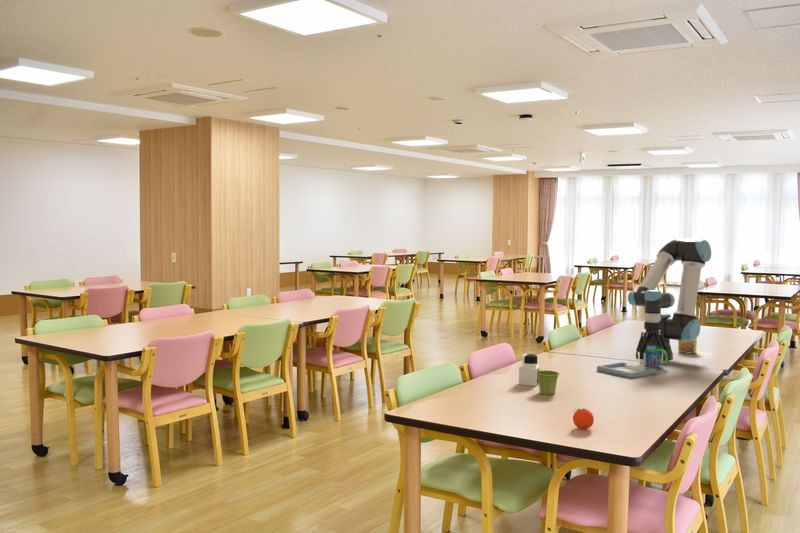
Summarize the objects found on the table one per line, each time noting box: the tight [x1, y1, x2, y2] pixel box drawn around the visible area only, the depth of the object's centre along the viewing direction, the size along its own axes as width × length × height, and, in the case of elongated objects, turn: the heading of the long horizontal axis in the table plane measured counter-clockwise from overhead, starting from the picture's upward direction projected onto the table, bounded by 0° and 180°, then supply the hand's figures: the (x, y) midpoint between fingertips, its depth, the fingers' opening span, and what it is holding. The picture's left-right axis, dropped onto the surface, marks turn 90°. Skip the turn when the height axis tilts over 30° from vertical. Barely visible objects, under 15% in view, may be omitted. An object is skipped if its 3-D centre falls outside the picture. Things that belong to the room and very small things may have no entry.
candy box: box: [677, 337, 698, 354], centre depth 381 cm, size 9×4×15 cm, turn 51°
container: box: [518, 353, 541, 387], centre depth 301 cm, size 8×8×13 cm
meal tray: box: [596, 361, 657, 380], centre depth 326 cm, size 18×20×3 cm
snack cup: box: [635, 346, 669, 370], centre depth 337 cm, size 16×10×10 cm
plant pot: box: [536, 369, 560, 396], centre depth 284 cm, size 9×9×9 cm
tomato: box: [569, 408, 595, 430], centre depth 233 cm, size 8×7×7 cm
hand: (651, 364), depth 337 cm, fingers open, 13 cm apart
